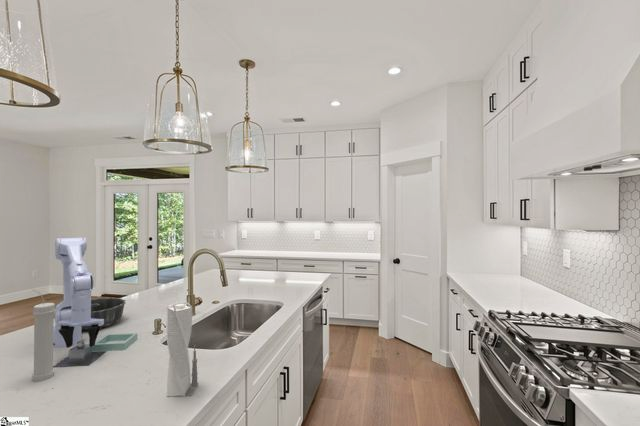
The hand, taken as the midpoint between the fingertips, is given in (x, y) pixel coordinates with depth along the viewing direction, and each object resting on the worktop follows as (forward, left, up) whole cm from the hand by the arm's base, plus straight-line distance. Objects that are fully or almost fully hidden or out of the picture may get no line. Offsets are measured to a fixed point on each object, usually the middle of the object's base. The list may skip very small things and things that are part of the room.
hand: (80, 346), depth 115 cm
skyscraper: (+42, -25, -6) cm, 49 cm away
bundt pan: (-18, +42, -6) cm, 46 cm away
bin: (+6, +12, -6) cm, 15 cm away
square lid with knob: (0, 0, -6) cm, 6 cm away
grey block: (0, 0, -5) cm, 5 cm away
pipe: (-4, -13, -6) cm, 15 cm away
